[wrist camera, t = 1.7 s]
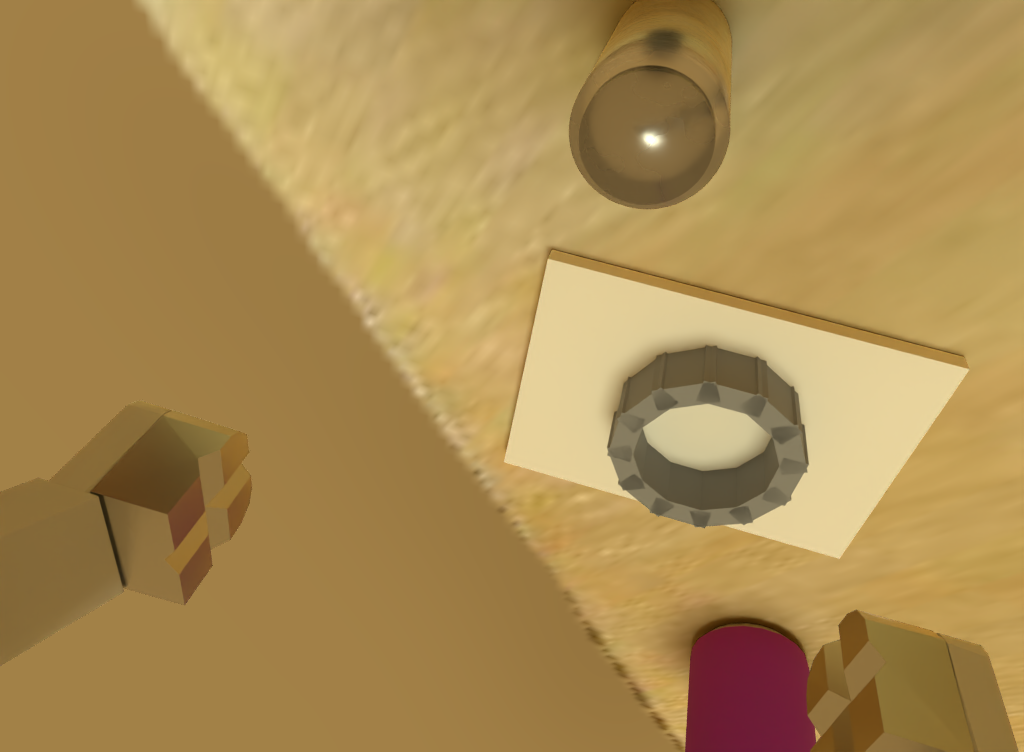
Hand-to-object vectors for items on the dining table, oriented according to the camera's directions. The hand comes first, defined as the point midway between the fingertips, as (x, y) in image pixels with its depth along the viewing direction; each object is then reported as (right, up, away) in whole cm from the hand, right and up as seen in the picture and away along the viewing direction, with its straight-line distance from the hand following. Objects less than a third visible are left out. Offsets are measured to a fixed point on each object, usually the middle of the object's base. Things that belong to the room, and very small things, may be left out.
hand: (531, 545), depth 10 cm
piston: (+6, +15, +21) cm, 26 cm away
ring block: (+10, 0, +30) cm, 32 cm away
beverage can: (+16, -16, +42) cm, 48 cm away
